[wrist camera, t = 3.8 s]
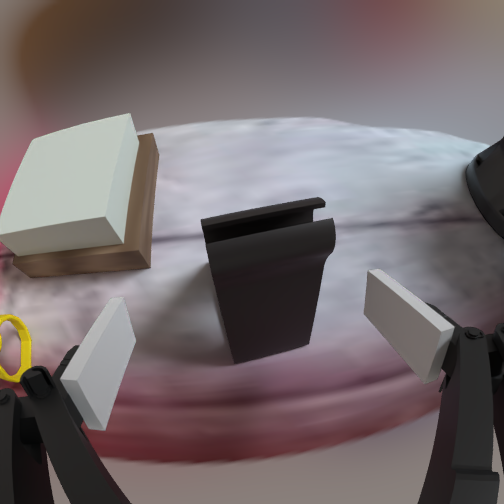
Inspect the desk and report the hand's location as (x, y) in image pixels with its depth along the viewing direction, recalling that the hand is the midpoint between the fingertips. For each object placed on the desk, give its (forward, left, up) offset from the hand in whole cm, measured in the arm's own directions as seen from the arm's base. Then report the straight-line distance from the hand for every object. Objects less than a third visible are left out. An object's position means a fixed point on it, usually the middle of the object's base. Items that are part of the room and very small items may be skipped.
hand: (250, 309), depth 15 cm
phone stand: (-1, -3, -9) cm, 9 cm away
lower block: (+15, -14, -9) cm, 22 cm away
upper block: (+15, -14, -5) cm, 21 cm away
